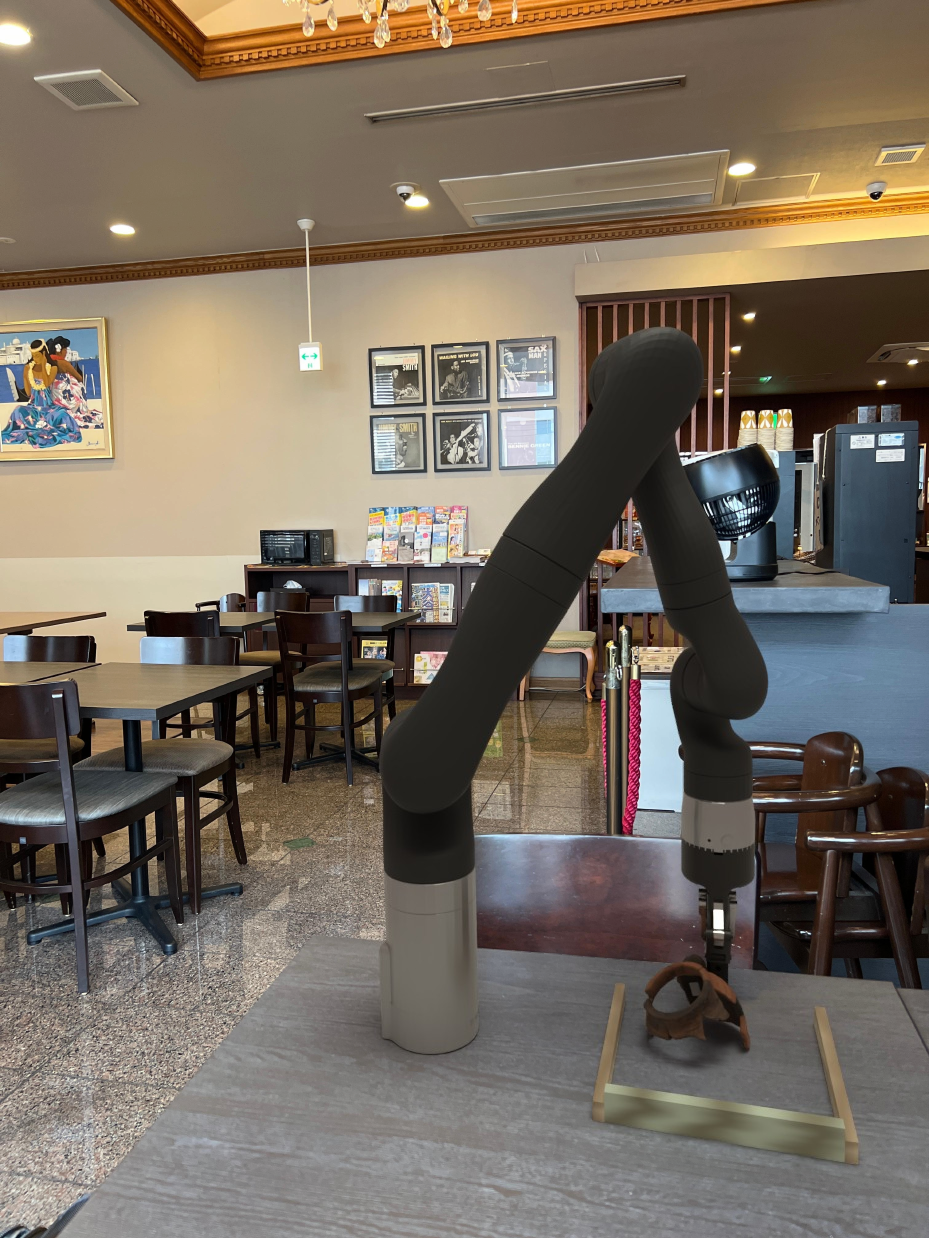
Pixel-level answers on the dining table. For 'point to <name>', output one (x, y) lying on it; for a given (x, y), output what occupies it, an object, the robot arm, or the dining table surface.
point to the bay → (730, 1106)
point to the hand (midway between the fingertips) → (717, 988)
